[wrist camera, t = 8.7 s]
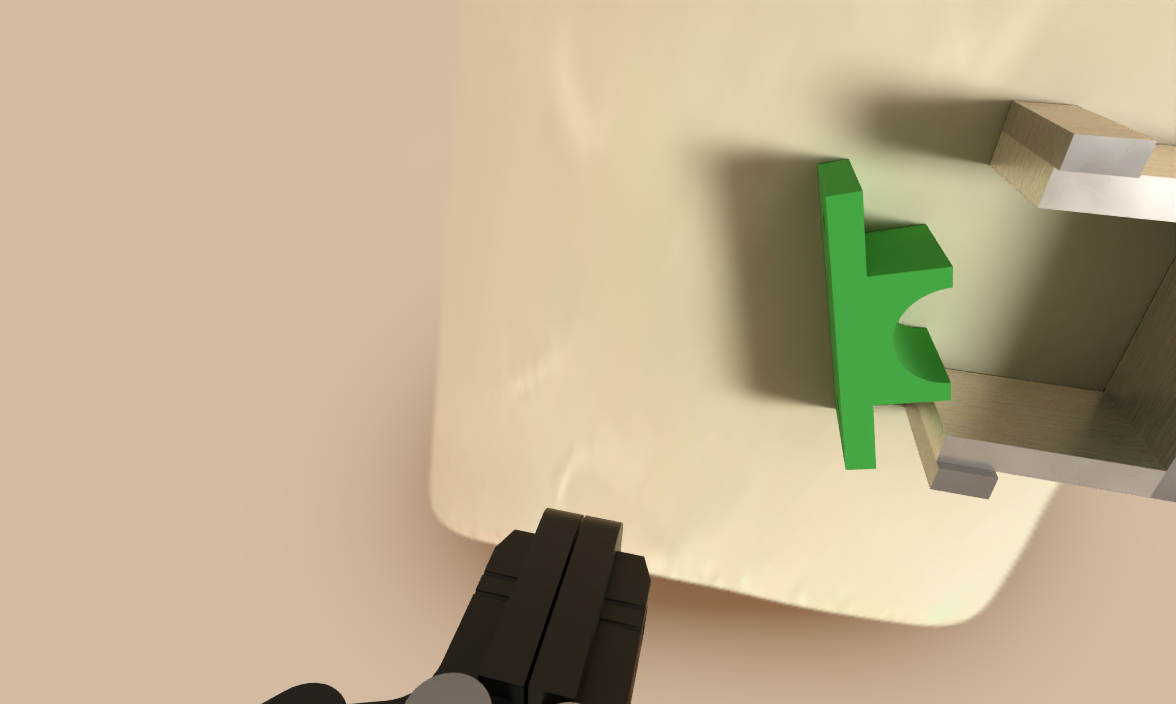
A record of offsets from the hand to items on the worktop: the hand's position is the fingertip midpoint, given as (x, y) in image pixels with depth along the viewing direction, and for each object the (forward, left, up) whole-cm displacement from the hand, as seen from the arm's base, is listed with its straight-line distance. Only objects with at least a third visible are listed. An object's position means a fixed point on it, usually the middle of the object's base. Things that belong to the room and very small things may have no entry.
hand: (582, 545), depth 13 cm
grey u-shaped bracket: (0, +15, -18) cm, 23 cm away
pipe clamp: (+1, +8, -18) cm, 20 cm away
